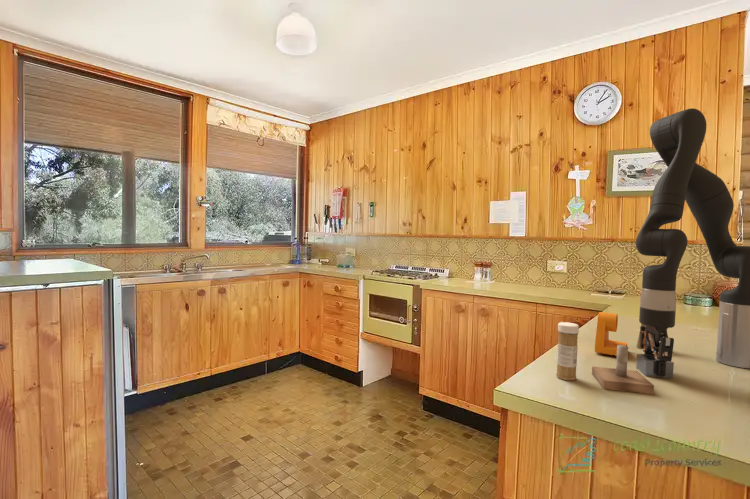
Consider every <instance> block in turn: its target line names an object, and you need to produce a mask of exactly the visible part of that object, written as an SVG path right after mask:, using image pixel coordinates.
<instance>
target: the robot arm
mask: <svg viewBox="0 0 750 499" xmlns="http://www.w3.org/2000/svg"><path fill="white" fill-rule="evenodd" d="M707 127H708V126H707V120H706V117H705V115H704V113H703V112H702V111H701V110H699V109H697V108H692V107H691V108H687V109H682V110H680V111H677V112H674V113H671V114H670V115H667V116H664V117H661V118H659V119H657V120H655V121H653V122H652V123H651V125H650V127H649V136H650V141H651V143H652V145H653V146H654V149H655V150H656V152H657V154H658V155H659V156H660V157H661V159H662V160H663V162H664V164H665V166H667V168H666V169H665V171H664V172H663V173H662V175H661V176H660V178H659V179H657V180H658V181H657V182H656V184H655V186H654V188H653V191H652V194H651V201H650V207H649V212H648V215H647V216H646V219H645V220H644V222H643V225H642V226H641V228H640V230H639V231H638V234H637V236H636V239H635V248H636V250H637V252H638V253H639V254H640V255H642V256H646V257H647V256H648V257H665V258H666V259H665V260H664V261H663V262H662V263H660V264H653V265H646V266H644V268H643V270H642V282H641V284H642V285H641V292H640V296H639V298H640V301H639V316H638V317H639V318H638V321H639V323H640V329H639V333H640V347H641V348H643V350H642V351H643V354H647V355H654V356H655V368H654V374H655V375H656V376H665V373H666V362H668V361H672V358H673V350H674V343H675V339H674V338H673V337H669V335H668V329H671V328H674V327H675V326H676V313H677V310H676V309H677V296H676V295H677V294H676V288H677V274H678V270H679V266H680V265H681V261H682V259H683V256H684V254H685V252H686V249H687V246H688V236H687V235H686V233H685V232H684V231H683V230H681V229H678V228H661V227H663V226H664V225H667V224H668V225H669V224H672V223H675V222H680V221H681V219H682V217H683V215H684V208H685V203H686V204H687V207H688V208H689V210H690V212H691V214H692V216H693V217H694V219H695V222H696V224H697V226H698V228H699V230H700V232H701V234H702V237H703V239H704V241H705V244H706V246H707V250H708V252H709V255H710V258H711V261H712V264H713V266H714V267H715V270H716V271H717V272H718V274H720V275H722V276H723V277H727V278H731V279H738V283H737V285H736V286H735V287H732V288H730V289H726V290H722V291H721V292H720V294H719V305H718V306H719V309H718V322H717V323H718V324H717V343H716V352H715V354H716V358H715V359H716V361H717V362H719V363H721V364H724V365H728V366H731V367H735V368H736V367H737V368H742V369H743V368H744V369H750V246H749V245H737V244H736V243H735V242H734V240H733V238H732V236H731V233H730V231H729V230H730V229H729V224H730V220H731V218H732V215H733V212H734V209H735V208H734V206H735V203H734V200H733V197H732V195H731V193H730V191H729V189H728V187H727V185H726V183H725V182H724V180H723V179H722V178H721V177H719V176H718V175H717V174H715V173H713V172H712V171H711V170H709V169H707V168H705V167H703V166H702V165H700V164H699V163H697V160H698V157H699V154H700V151H701V149H702V145H703V143H704V141H705V137H706V134H707ZM641 324H643V325H646V326H641ZM657 347H659V348H657Z"/></svg>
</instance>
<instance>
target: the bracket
mask: <svg viewBox="0 0 750 499" xmlns="http://www.w3.org/2000/svg"><path fill="white" fill-rule="evenodd" d="M618 315H619V314H618V313H612V312H611V313H610V312H603V311H599V312H598V314H597V323H596V325H597V326H596V330H595V331H596V332H595V343H594V353H597V354H598V353H599V354H602V355H610V356H613V355H614V357H617V345H624V346H627V347H628V342H625V341H619V340H613V339H610V338H609V336H610V335H609V332H612V333H617V330H618V323H619V316H618Z"/></svg>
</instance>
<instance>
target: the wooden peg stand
mask: <svg viewBox="0 0 750 499" xmlns="http://www.w3.org/2000/svg"><path fill="white" fill-rule="evenodd" d="M628 352H629V346H628V345H627V346H624V345H617V356H616V361H615V363H616V364H615V367H614V368H612V367H603V366H602V367H601V366H593V365H592V366H591V375H592V376H593V378H594V379H595V380H596V382H598V384H599V385H600V386H601V387H602V389H604V390H611V391H612V390H613V391H620V392H629V393H637V394H640V393H641V394H647V395H655V389H654V388H655V385H654V384H653V383H652V382H650V381H649V380H648V379H647V378H646V376H645V375H644V376H643V374H642V373H641V372H640V371H639V370H633V369H628V358H629V357H628V356H629V353H628Z"/></svg>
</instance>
